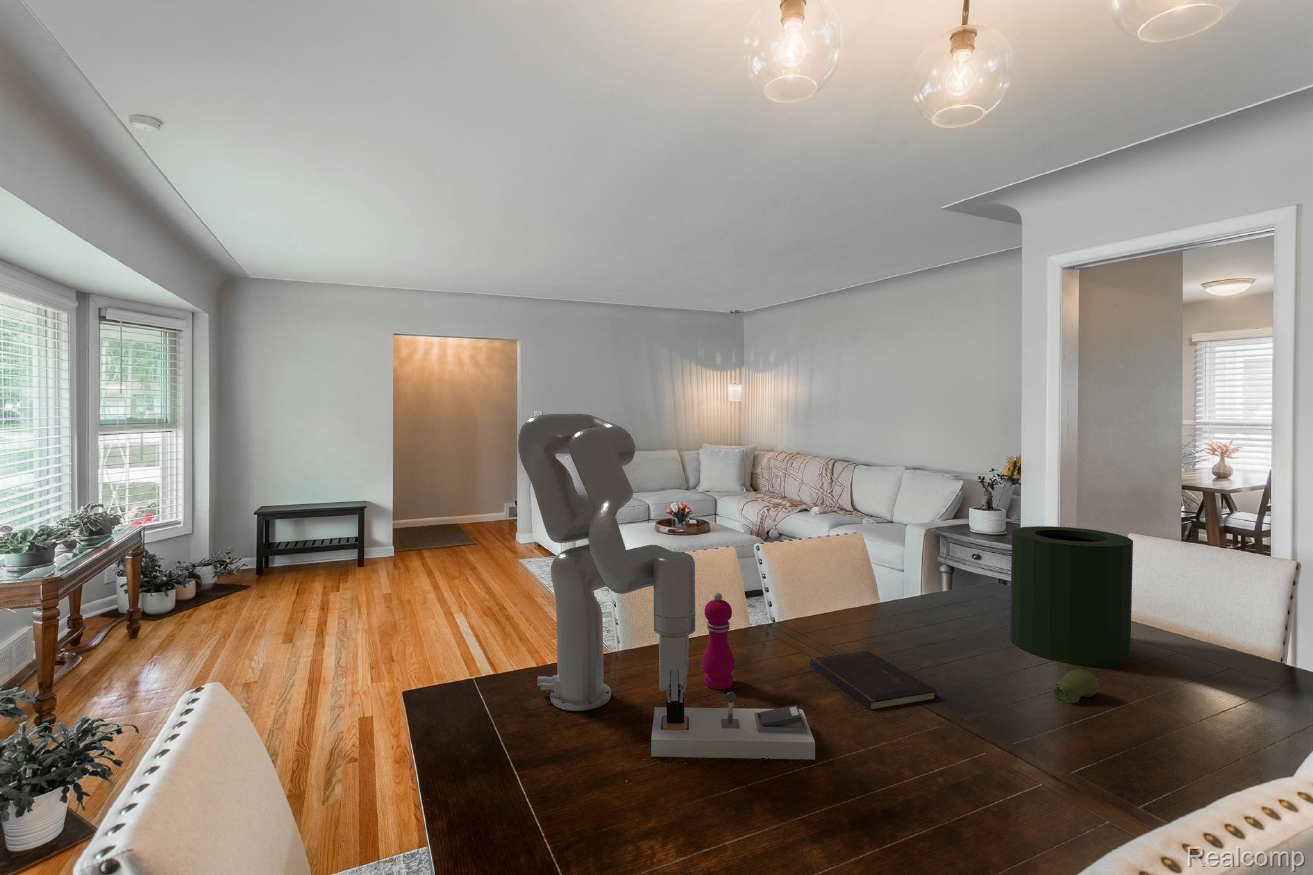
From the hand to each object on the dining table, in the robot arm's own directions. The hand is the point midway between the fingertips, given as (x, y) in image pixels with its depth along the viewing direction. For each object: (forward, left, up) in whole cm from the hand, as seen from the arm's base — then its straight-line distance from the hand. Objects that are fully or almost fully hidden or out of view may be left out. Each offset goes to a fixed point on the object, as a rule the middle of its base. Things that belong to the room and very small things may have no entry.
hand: (675, 721), depth 116 cm
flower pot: (+97, +48, -4) cm, 108 cm away
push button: (0, 0, -3) cm, 3 cm away
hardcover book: (+42, +26, -4) cm, 50 cm away
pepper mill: (+9, +24, -4) cm, 26 cm away
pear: (+82, +20, -4) cm, 84 cm away
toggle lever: (+10, 0, 0) cm, 10 cm away
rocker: (+19, 0, +1) cm, 19 cm away
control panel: (+10, 0, -3) cm, 10 cm away
